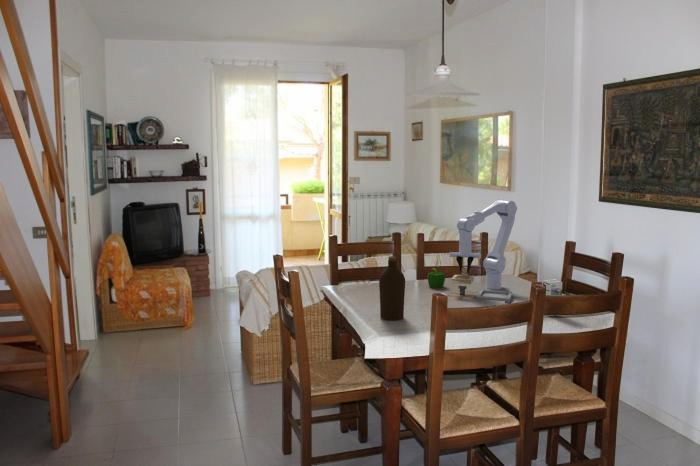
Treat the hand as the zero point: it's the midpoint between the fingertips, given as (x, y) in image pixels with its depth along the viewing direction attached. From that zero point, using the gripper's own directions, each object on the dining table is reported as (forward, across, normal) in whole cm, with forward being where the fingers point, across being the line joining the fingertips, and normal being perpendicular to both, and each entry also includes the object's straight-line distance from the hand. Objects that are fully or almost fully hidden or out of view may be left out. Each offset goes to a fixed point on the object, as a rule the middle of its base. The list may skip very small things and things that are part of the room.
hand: (464, 272), depth 292 cm
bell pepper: (+11, -15, +8) cm, 20 cm away
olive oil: (+11, -21, -51) cm, 56 cm away
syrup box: (+11, +40, -26) cm, 49 cm away
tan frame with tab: (+3, 0, -4) cm, 5 cm away
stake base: (+10, 0, -4) cm, 11 cm away
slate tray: (+10, +14, -4) cm, 18 cm away
